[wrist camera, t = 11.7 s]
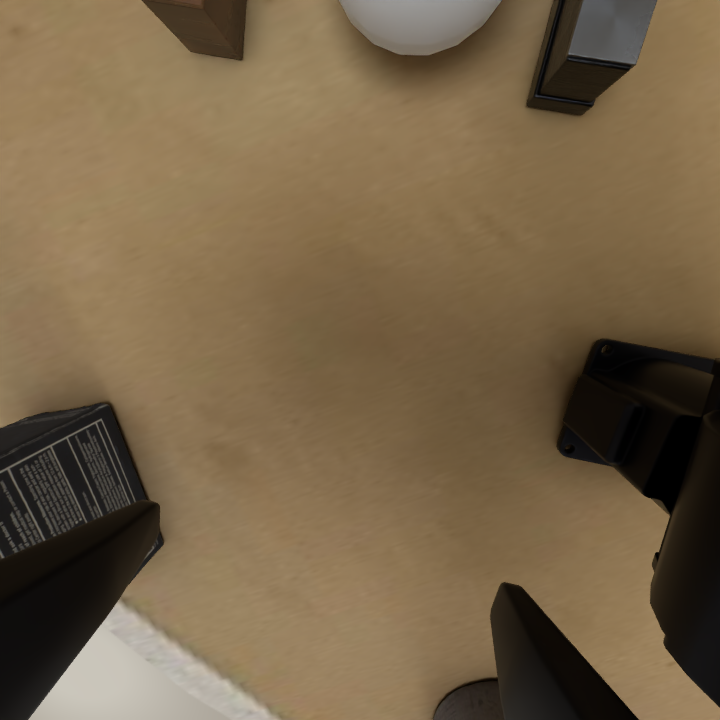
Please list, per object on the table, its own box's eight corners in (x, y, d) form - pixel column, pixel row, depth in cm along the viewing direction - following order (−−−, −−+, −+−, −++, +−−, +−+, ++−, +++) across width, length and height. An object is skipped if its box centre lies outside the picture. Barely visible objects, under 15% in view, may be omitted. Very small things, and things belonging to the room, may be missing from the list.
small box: (20, 415, 23) (-284, 536, 12) (111, 399, 22) (-138, 515, 12) (83, 554, 25) (-128, 750, 15) (168, 545, 24) (3, 747, 14)
